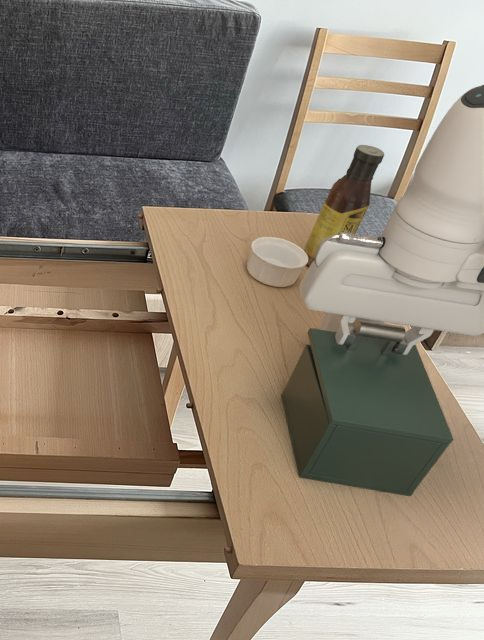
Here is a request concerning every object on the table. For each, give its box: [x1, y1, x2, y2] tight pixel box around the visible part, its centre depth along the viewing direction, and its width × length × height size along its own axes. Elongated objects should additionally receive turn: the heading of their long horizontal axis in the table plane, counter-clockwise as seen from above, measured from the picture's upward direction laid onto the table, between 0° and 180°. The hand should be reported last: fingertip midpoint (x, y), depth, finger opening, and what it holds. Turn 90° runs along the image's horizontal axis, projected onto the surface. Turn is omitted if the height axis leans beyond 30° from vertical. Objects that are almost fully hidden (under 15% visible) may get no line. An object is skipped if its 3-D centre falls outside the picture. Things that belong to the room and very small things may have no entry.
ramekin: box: [246, 236, 308, 288], centre depth 110 cm, size 9×9×4 cm
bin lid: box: [307, 320, 454, 445], centre depth 76 cm, size 15×13×5 cm
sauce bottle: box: [303, 144, 385, 267], centre depth 109 cm, size 6×6×20 cm
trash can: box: [280, 344, 450, 497], centre depth 81 cm, size 14×13×9 cm
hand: (370, 346), depth 80 cm, fingers closed on bin lid, 5 cm apart
